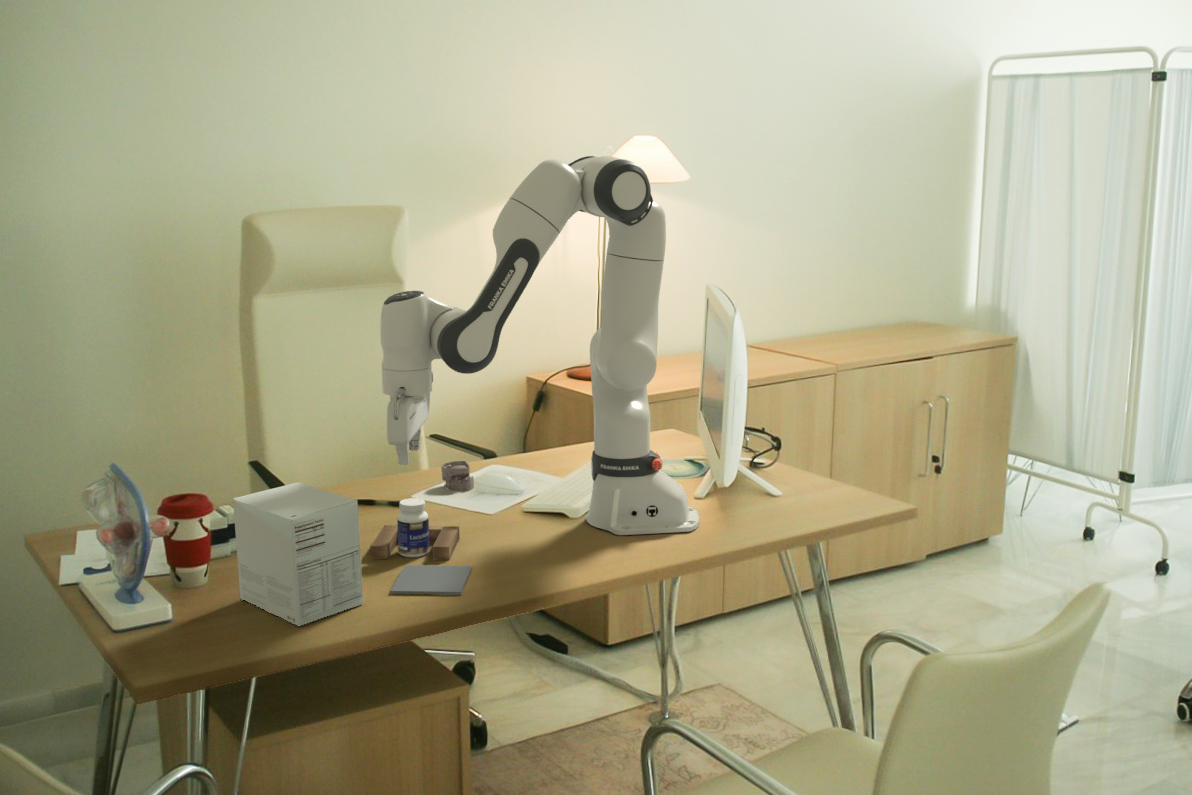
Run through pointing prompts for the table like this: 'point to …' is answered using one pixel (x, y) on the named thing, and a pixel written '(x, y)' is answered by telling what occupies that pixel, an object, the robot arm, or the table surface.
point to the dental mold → (457, 475)
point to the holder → (440, 535)
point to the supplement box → (298, 552)
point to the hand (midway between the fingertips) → (409, 456)
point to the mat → (431, 580)
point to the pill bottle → (413, 528)
